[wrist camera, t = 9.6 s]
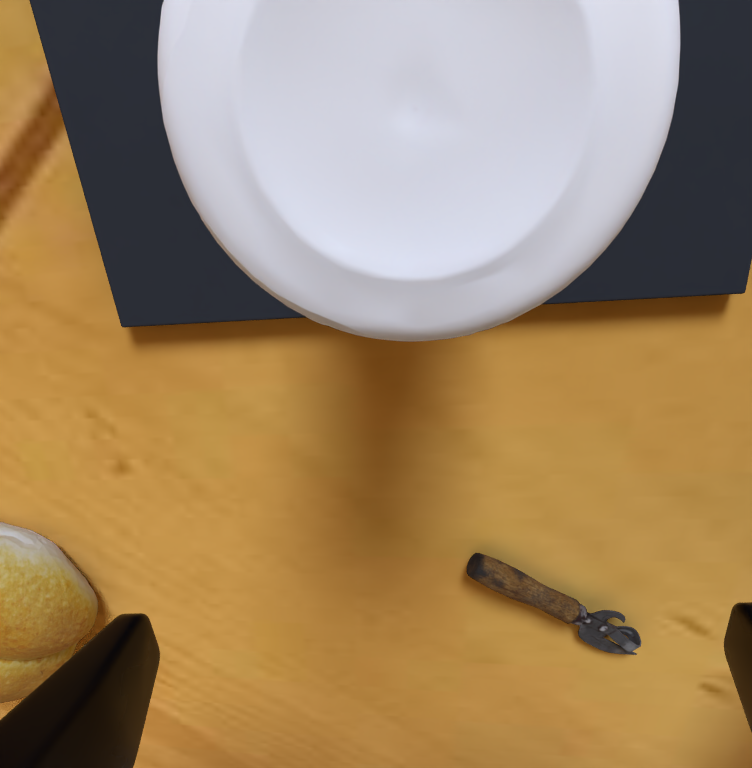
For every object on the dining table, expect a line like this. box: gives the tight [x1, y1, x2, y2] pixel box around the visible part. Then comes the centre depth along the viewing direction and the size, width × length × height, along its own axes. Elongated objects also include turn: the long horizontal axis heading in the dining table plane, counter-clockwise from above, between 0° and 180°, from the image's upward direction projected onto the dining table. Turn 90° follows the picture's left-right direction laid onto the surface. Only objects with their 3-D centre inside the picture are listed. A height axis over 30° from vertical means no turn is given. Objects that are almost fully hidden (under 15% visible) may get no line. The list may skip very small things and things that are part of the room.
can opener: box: [467, 553, 641, 655], centre depth 26 cm, size 9×2×1 cm, turn 53°
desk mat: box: [30, 0, 752, 327], centre depth 18 cm, size 14×20×1 cm
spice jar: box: [158, 0, 680, 342], centre depth 11 cm, size 5×5×14 cm
